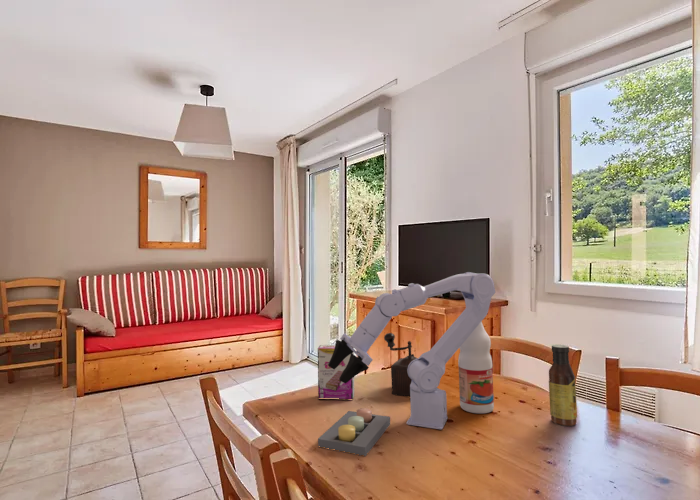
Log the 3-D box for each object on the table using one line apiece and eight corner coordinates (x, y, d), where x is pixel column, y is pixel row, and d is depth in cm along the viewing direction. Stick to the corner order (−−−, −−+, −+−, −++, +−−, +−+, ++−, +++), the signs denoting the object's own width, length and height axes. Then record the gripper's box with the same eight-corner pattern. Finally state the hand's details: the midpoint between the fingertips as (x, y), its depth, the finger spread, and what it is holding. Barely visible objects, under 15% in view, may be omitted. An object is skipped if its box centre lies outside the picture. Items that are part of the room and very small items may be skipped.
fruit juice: (475, 400, 122) (471, 308, 123) (501, 409, 114) (497, 310, 115) (453, 406, 117) (449, 310, 118) (478, 417, 109) (474, 314, 110)
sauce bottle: (581, 428, 101) (578, 349, 101) (554, 426, 102) (551, 348, 103) (572, 417, 108) (569, 343, 108) (547, 416, 109) (544, 343, 109)
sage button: (366, 426, 102) (366, 417, 102) (360, 433, 98) (360, 423, 98) (352, 424, 103) (351, 415, 103) (345, 430, 100) (345, 421, 100)
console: (390, 424, 106) (390, 416, 106) (365, 456, 90) (365, 447, 90) (349, 418, 111) (348, 410, 111) (318, 447, 95) (318, 438, 95)
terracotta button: (374, 418, 107) (373, 409, 107) (368, 424, 103) (368, 414, 103) (360, 416, 108) (360, 407, 108) (354, 421, 105) (354, 412, 105)
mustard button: (358, 436, 96) (357, 426, 96) (351, 443, 93) (351, 433, 93) (342, 433, 98) (342, 423, 98) (335, 440, 94) (335, 430, 94)
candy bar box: (318, 400, 125) (316, 348, 125) (320, 395, 130) (319, 344, 130) (353, 401, 124) (352, 348, 124) (355, 395, 129) (353, 344, 129)
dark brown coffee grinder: (431, 387, 134) (429, 334, 135) (422, 398, 124) (421, 340, 125) (387, 382, 141) (386, 331, 141) (376, 392, 131) (374, 337, 131)
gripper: (346, 314, 111) (316, 354, 109) (370, 335, 98) (336, 381, 96) (363, 327, 114) (334, 366, 112) (388, 349, 101) (356, 393, 100)
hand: (336, 374), depth 105 cm, fingers open, 7 cm apart
